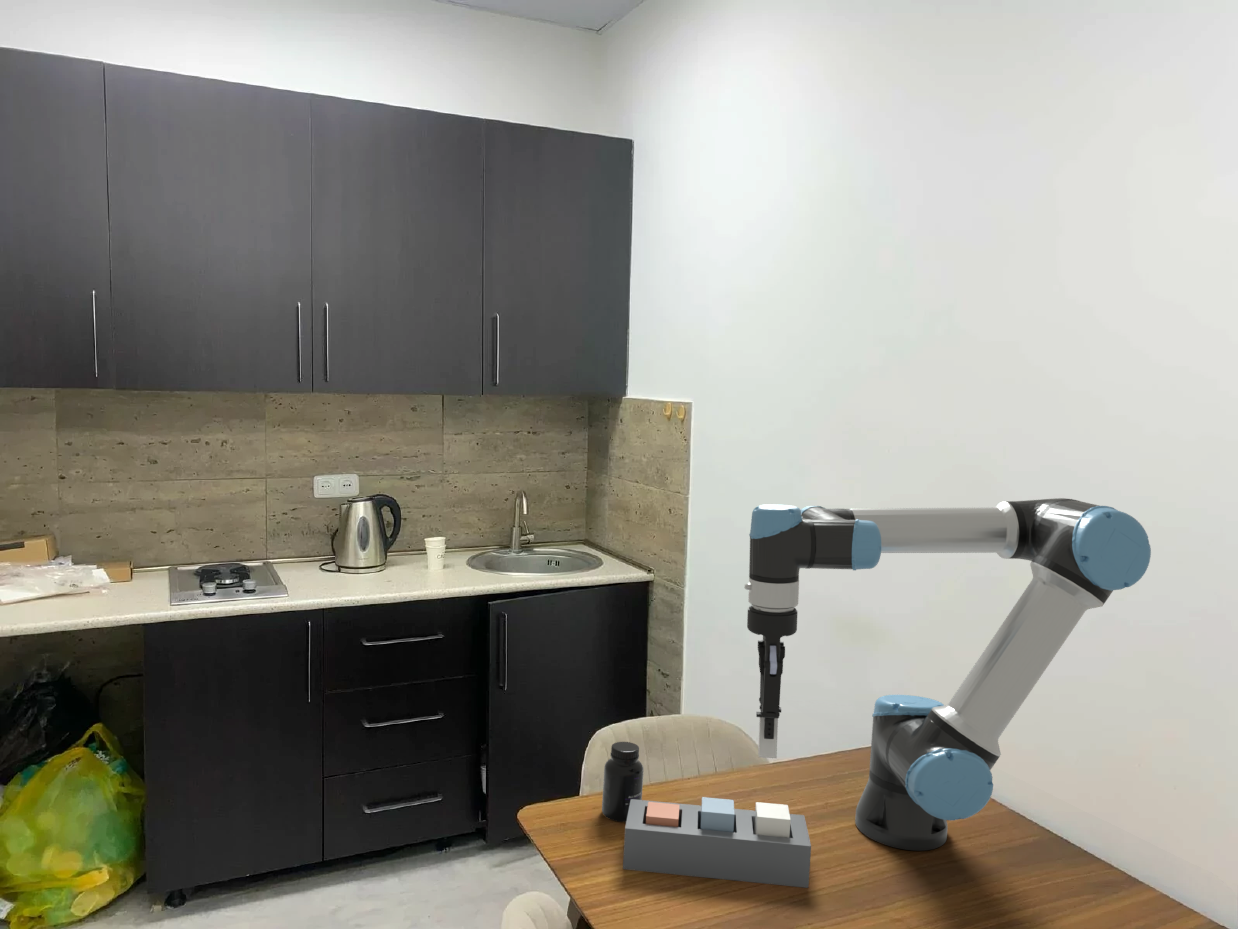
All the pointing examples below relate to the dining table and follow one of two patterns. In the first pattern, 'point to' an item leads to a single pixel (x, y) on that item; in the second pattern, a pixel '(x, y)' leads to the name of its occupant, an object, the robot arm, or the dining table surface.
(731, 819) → the blue key
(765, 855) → the console
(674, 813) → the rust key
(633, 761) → the supplement bottle
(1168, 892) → the dining table surface
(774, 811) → the white key
